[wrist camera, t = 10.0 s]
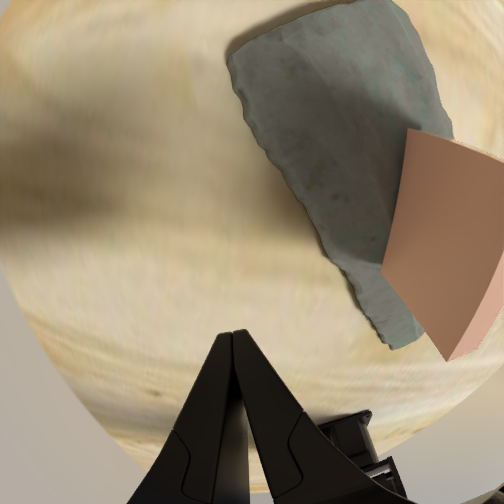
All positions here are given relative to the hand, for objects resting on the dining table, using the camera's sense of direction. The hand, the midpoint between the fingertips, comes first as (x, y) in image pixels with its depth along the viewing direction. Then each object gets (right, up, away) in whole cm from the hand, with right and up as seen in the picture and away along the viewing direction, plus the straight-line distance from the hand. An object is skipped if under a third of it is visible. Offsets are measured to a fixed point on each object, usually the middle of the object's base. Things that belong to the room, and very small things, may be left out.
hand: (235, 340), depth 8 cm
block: (+8, +5, +3) cm, 10 cm away
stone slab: (+9, +5, +6) cm, 12 cm away
